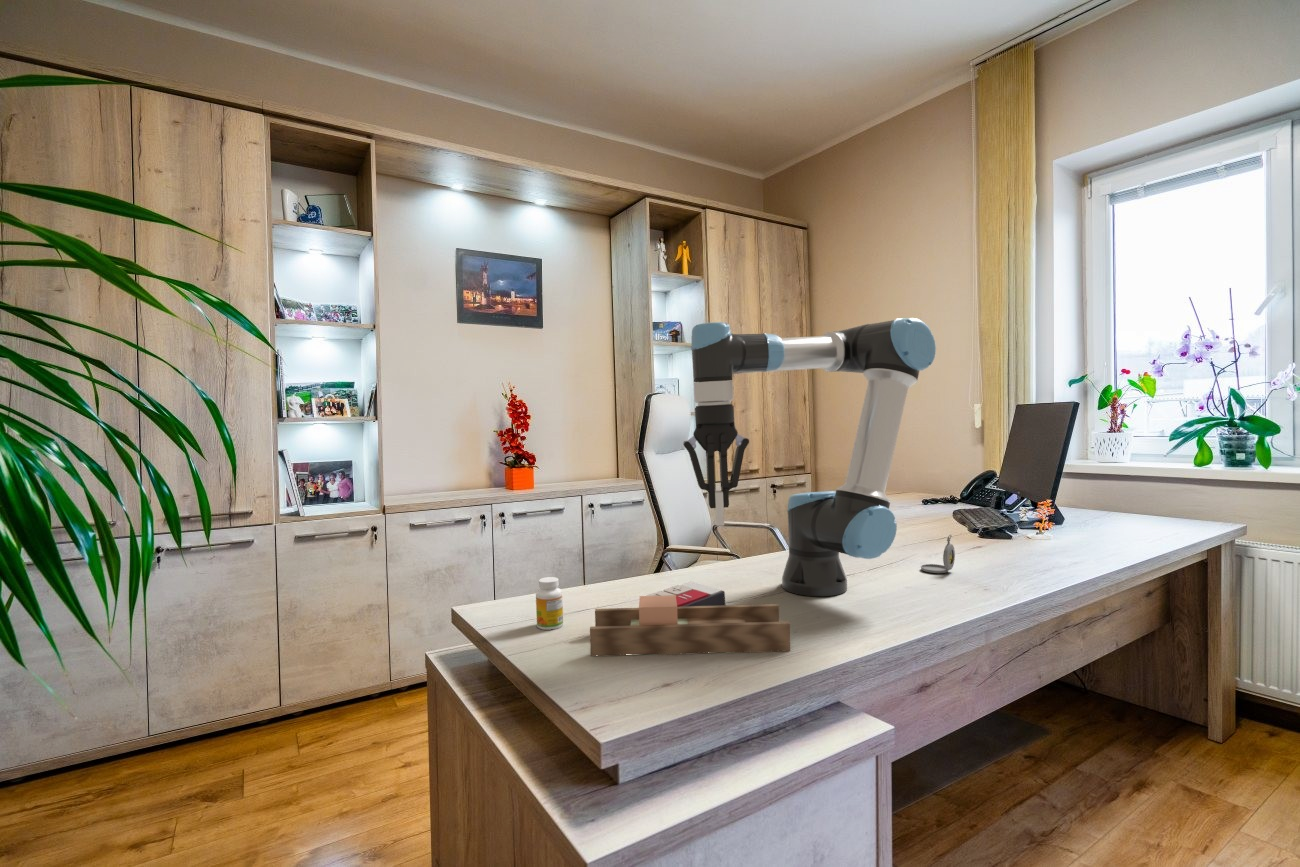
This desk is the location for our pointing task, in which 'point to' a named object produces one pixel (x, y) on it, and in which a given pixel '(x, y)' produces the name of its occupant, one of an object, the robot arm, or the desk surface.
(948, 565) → the pocket watch
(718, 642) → the trap channel
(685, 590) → the calculator
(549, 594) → the supplement bottle
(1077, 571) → the desk surface
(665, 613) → the block
